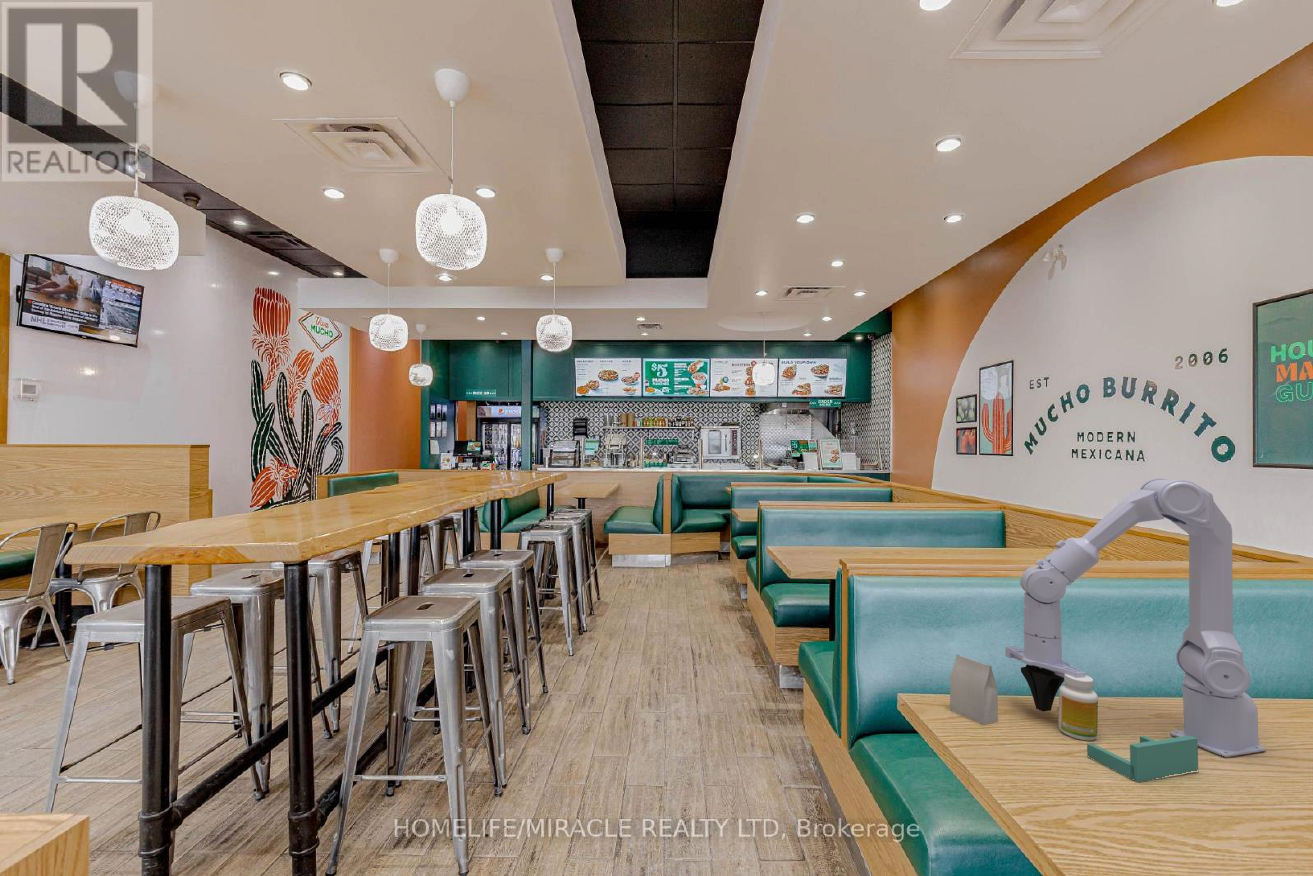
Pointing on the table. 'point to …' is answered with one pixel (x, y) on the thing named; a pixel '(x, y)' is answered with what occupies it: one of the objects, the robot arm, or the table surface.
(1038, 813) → the table surface
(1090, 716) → the supplement bottle
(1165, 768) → the dock
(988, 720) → the tea bag
